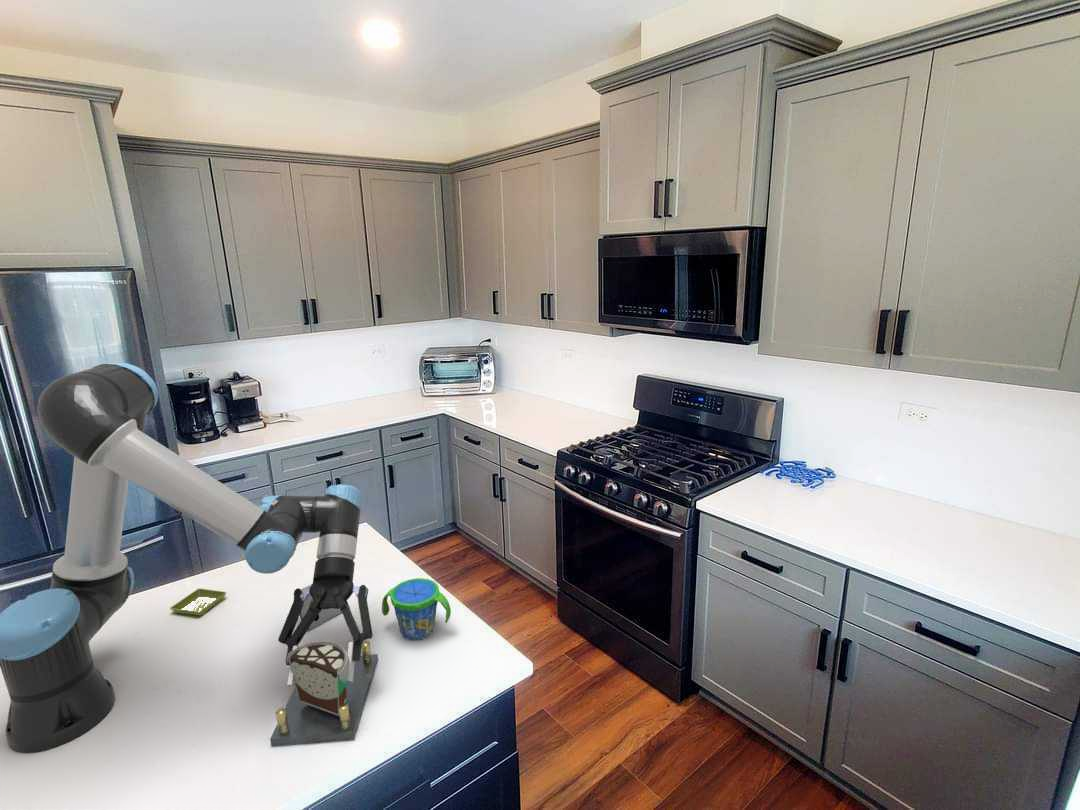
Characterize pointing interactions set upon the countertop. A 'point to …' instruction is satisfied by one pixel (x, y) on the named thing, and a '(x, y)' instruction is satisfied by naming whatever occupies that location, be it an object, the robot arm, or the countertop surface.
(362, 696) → the post plate
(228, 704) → the countertop surface
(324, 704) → the food container
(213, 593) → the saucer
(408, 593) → the snack cup
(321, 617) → the electrical switch
